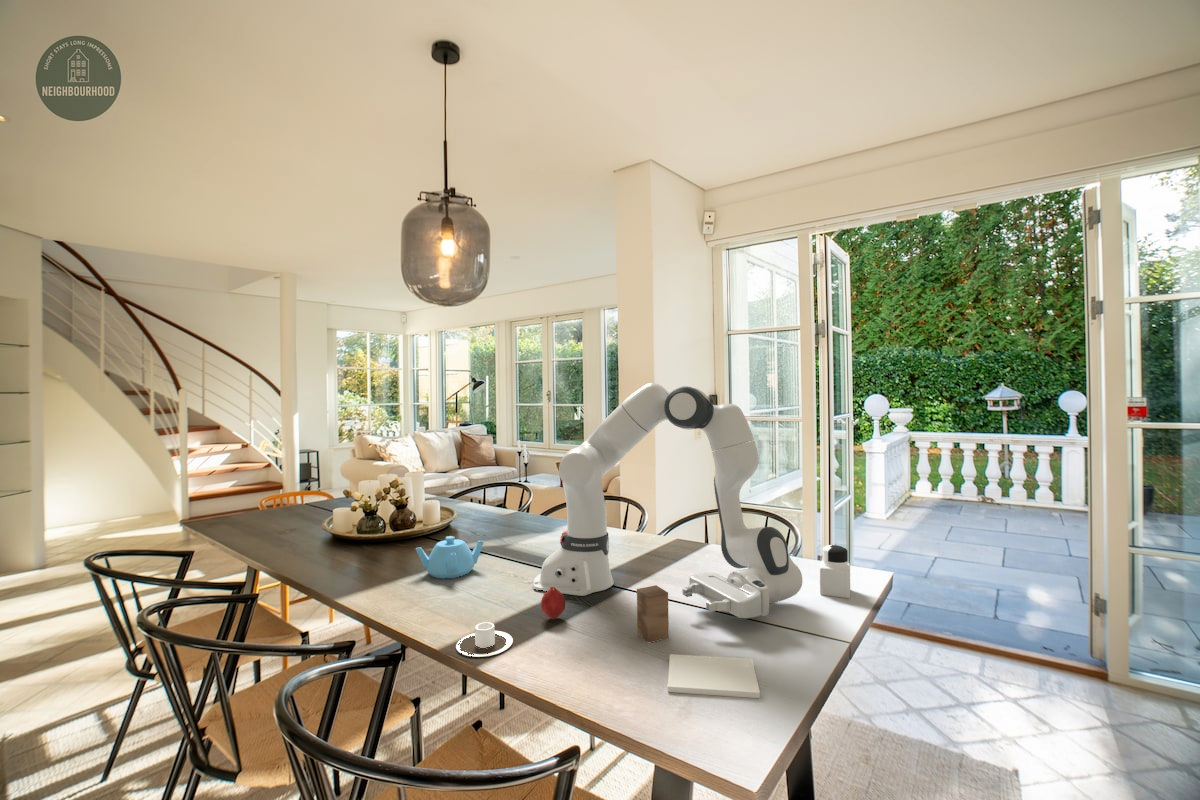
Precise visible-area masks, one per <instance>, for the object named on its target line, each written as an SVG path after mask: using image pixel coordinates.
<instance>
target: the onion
mask: <svg viewBox="0 0 1200 800" xmlns="http://www.w3.org/2000/svg"><path fill="white" fill-rule="evenodd" d="M540 607H541V610H542V612H543V614H545V615H546V616H548V617H549V618H550V619H551V620H556V619H557V618H559V616H561V615H562V614H563V612H564V611H565V609H566V598H565V595H564V594H563V593H561V592H560V591H559V590H557V589H556V588H555V586H551V588H550V590H548V591H547V592H546V591H545V592H544V594H543V596H542V597H541V601H540Z"/></svg>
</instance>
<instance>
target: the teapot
mask: <svg viewBox="0 0 1200 800" xmlns="http://www.w3.org/2000/svg"><path fill="white" fill-rule="evenodd" d="M455 538H456V537H455V536H453V535H449V536H448V535H447V536H445V539H444V540H441V541H438V542H437V543H436V544H435V545H434V546H433V549H432V550H431V552H430V553H429V555H428V554H427V553H426V552H425V551H424V549H423V548H422V547H421V546H419V547H416V548H415V551H416V554H417V555H418V557H419V559H420V561H421V564H422V565H423V568H424V570H426V571H427V573H428V574H430V575H429V576H431V577H433V578H434V577H436V578H435V579H439V578H451V579H455V578H454V577H458V578H460V577H459V576H461V577H464V576H466V575H465V574H467V575H468V574H470V572H471V571H472V570H473V569H474V567H475V564H477V563H478V560H479V558H480V554H481V551H482V548H483V545H484V543H485V541H484V540H477V543H476V545H475V546H474V548H473V550H472V551H471V549H470V547H469V546H468V544H467V543H466V542H465V541H464V540H462V539H455ZM463 575H464V576H463Z"/></svg>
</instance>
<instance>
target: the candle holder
mask: <svg viewBox="0 0 1200 800" xmlns="http://www.w3.org/2000/svg"><path fill="white" fill-rule="evenodd" d="M495 634H497V635H499V636H502V637H504V638H505V639H506V642H505V644H506V645H505V644H504V646H503V647H502V648H500V649H497V650H496V651H492V652H489V653H488V654H487V653H473V654H474V655H473V654H472V655H471V654H469V655H468V653H467V652H468V651H467V652H464V651H461V650H460V649H461V648H460V644H461V643H462V641H463V640H464V639H466V638H469V637H470V636H471V637H472V636H475V638H474V645H476V646H478V647H480V648H486V647H490V646H492V647H494V646H495V644H496V636H495ZM460 639H461V640H460ZM460 639H459V640H458V642H457V643H456V645H455V648H456V651H457V652H458V653H459V654H461V653H462V655H463V656H467V657H471V656H472V658H473V657H477V658H480V657H481V658H483V657H484V658H485V657H490V656H494V655H498V654H500V653H503V652H505V651H506V650H508V649H509V648H510V647H511V646H512V645H513V643H514V638H513V637H512V636H511V635H510V634H509V633H508V632H505V631H500V630H495V624H494V623H493V622H489V621H488V622H480V623H477V624H476V625H474V632H473V633H470V634H467V635H466V636H463V637H461V638H460ZM460 641H461V642H460ZM459 643H460V644H459ZM458 644H459V645H458ZM493 645H494V646H493ZM476 646H475V647H476ZM480 648H479V649H480ZM490 648H491V647H490ZM486 649H487V648H486Z"/></svg>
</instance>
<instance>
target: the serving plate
mask: <svg viewBox="0 0 1200 800" xmlns="http://www.w3.org/2000/svg"><path fill="white" fill-rule="evenodd" d="M667 677H668V678H667V693H676V694H677V693H680V694H691V695H692V694H693V695H704V696H705V695H707V696H719V697H720V696H721V697H723V696H724V697H733V698H735V697H736V698H751V699H752V698H753V699H761V691H760V687H759V684H758V679H757V674H756V671H755V666H754V663H753V659H752V658H741V657H726V656H725V657H724V656H710V655H709V656H708V655H707V656H706V655H690V654H676V653H675V654H674V653H670V654H669V663H668V675H667Z"/></svg>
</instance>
